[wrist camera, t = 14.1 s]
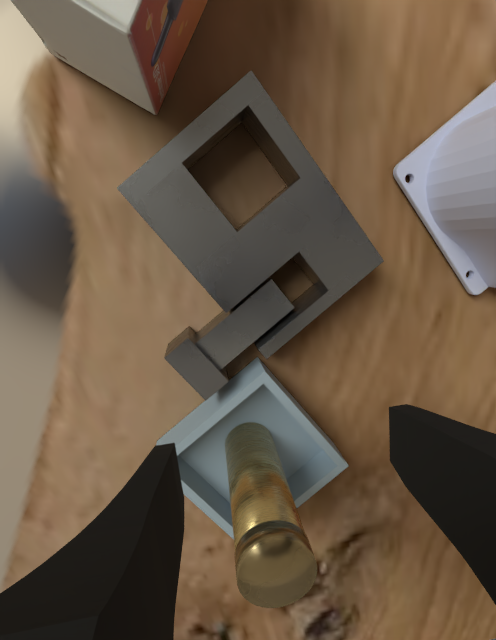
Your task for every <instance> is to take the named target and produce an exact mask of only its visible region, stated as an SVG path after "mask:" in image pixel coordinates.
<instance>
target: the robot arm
mask: <svg viewBox="0 0 496 640" xmlns="http://www.w3.org/2000/svg"><path fill="white" fill-rule="evenodd" d="M393 175H394V178H395V180H396V181H397V183H398V184H399V186H400V187H401V189H402V190H403V192H404V194H405V195H406V197H407V198H408V200H409V201H410V203H411V205H412V206H413V208H414V209H415V211H416V212H417V214H418V215H419V217H420V219H421V220H422V222H423V223H424V225H425V226H426V228H427V230H428V231H429V233H430V234H431V236H432V237H433V239H434V241H435V242H436V244H437V245H438V247H439V248H440V250H441V251H442V253H443V255H444V256H445V258H446V259H447V261H448V262H449V264H450V266H451V267H452V269H453V270H454V272H455V273H456V275H457V276H458V278H459V280H460V281H461V283H462V284H463V286H464V287H465V289H466V291H467V292H468V293H469V294H472V295H479V294H481V293H482V292H483V291H484V290H486V289H487V288H488V287H494V288H496V81H495V82H494V83H492V84H491V85H490V86H489V87H488V88H486V89H485V90H484V91H483V92H482V93H481V94H479V95H478V96H477V97H476V98H475V99H473V100H472V101H471V102H470V103H469V104H468V105H466V106H465V107H464V108H463V109H462V110H461V111H459V112H458V113H457V114H456V115H455V116H453V117H452V118H451V119H450V120H449V121H448V122H446V123H445V124H444V125H443V126H442V127H440V128H439V129H438V130H437V131H436V132H435V133H433V134H432V135H431V136H430V137H429V138H428V139H426V140H425V141H424V142H423V143H422V144H420V145H419V146H418V147H417V148H416V149H415V150H413V151H412V152H411V153H410V154H409V155H407V156H406V157H405V158H404V159H403V160H402V161H400V162H399V163H398V164H397V165H396V166H395V167H394V170H393ZM406 175H408V176H409V177H410V182H409V183H407V182H406V181H405V177H406ZM468 271H469V276H468V277H467V278H466V273H467V272H468ZM389 429H390V461H391V463H392V465H393V466H394V468H395V470H396V471H397V473H398V475H399V476H400V478H401V480H402V481H403V483H404V484H405V486H406V487H407V488H408V490H409V491H410V492H411V494H412V495H413V496H414V497H415V498H416V500H417V501H418V502H419V503H420V505H421V506H422V507H423V508H424V510H425V511H426V512H427V513H428V514H429V516H430V517H431V518H432V519H433V520H434V522H435V523H436V524H437V525H438V526H439V528H440V529H441V530H442V531H443V533H444V534H445V535H446V536H447V537H448V539H449V540H450V541H451V542H452V543H453V545H454V546H455V547H456V548H457V550H458V551H459V552H460V554H461V555H462V556H463V558H464V559H465V560H466V562H467V563H468V564H469V566H470V567H471V569H472V570H473V572H474V573H475V575H476V576H477V578H478V579H479V581H480V582H481V584H482V585H483V586H484V588H485V589H486V591H487V592H488V594H489V595H490V597H491V598H492V600H493V601H494V603H495V605H496V434H494V433H491V432H487V431H484V430H481V429H478V428H475V427H472V426H469V425H466V424H463V423H461V422H458V421H455V420H452V419H449V418H447V417H444V416H441V415H438V414H436V413H433V412H430V411H427V410H424V409H421V408H418V407H415V406H411V405H407V404H405V405H399V406H393V407H389ZM183 535H184V494H183V488H182V483H181V477H180V471H179V465H178V459H177V453H176V447H175V443H169V444H163V445H157V446H155V447H154V448H153V449H152V451H151V452H150V453H149V455H148V456H147V457H146V459H145V460H144V461H143V463H142V464H141V465H140V467H139V468H138V469H137V471H136V472H135V473H134V475H133V476H132V477H131V479H130V480H129V481H128V482H127V484H126V485H125V486H124V487H123V489H122V490H121V491H120V492H119V493H118V494H117V495H116V497H115V498H114V499H113V500H112V501H111V502H110V503H109V505H108V506H107V507H106V508H105V509H104V510H103V511H102V512H101V513H100V514H99V515H98V516H97V517H96V518H95V519H94V520H93V521H92V522H91V523H90V524H89V525H88V526H87V527H86V528H85V529H84V530H82V531H81V532H80V533H79V534H78V535H77V536H76V537H75V538H73V539H72V540H71V541H70V542H69V543H67V544H66V545H65V546H64V547H63V548H61V549H60V550H59V551H58V552H56V553H55V554H54V555H53V556H52V557H50V558H49V559H48V560H47V561H45V562H44V563H43V564H42V565H40V566H39V567H37V568H36V569H35V570H33V571H32V572H31V573H29V574H28V575H27V576H25V577H24V578H22V579H21V580H19V581H18V582H16V583H15V584H14V585H12V586H11V587H9V588H8V589H6V590H5V591H3V592H2V593H0V640H173V633H174V615H175V603H176V595H177V586H178V578H179V569H180V561H181V552H182V544H183ZM492 640H496V639H492Z"/></svg>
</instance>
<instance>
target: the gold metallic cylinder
mask: <svg viewBox="0 0 496 640" xmlns="http://www.w3.org/2000/svg"><path fill="white" fill-rule="evenodd" d="M225 453H226V463H227V473H228V483H229V493H230V504H231V514H232V524H233V534H234V544H235V567H236V577H237V585H238V589H239V591H240V593H241V594H242V596H243V597H244V598H245V599H246V600H248V601H249V602H250V603H252V604H254V605H257V606H260V607H265V608H278V607H283V606H286V605H289V604H292V603H294V602H295V601H297V600H299V599H300V598H302V597H303V596H304V595H305V594H306V593H307V592H308V591H309V590H310V588H311V587H312V585H313V584H314V581H315V579H316V575H317V564H316V560H315V557H314V554H313V552H312V549H311V546H310V543H309V540H308V537H307V536H306V534H305V532H304V529H303V526H302V523H301V520H300V517H299V514H298V511H297V508H296V506H295V503H294V500H293V497H292V494H291V491H290V488H289V485H288V482H287V479H286V476H285V473H284V470H283V467H282V464H281V461H280V458H279V456H278V453H277V450H276V447H275V444H274V441H273V438H272V435H271V433H270V431H269V430H268V429H267V428H266V427H265V426H263V425H261V424H259V423H255V422H247V423H242V424H240V425H238V426H236V427H235V428H233V429H232V430H231V431H230V432H229V434H228V435H227V437H226V440H225Z"/></svg>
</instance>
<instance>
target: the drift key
mask: <svg viewBox="0 0 496 640" xmlns="http://www.w3.org/2000/svg"><path fill="white" fill-rule="evenodd" d="M293 308H294V306H293V305H292V304H291V303H290V301H289V300H288V299H287V298H286V296H285V295H284V294H283V293H282V292H281V290H280V289H279V288H278V287H277V285H276V284H275V283H274V282H273V280H272V279H270V278H267V279H266V280H265V281H264V282H262V283H261V284H260V285H259V286H258V287H257V288H255V289H254V290H253V291H252V292H251V293H249V294H248V295H247V296H246V297H245V298H244V299H242V300H241V301H240V302H239V303H238V304H236V305H235V306H234V307H233V308H232V309H231V310H229V311H228V312H227V313H226V312H225V311H222V312H221V313H220V314H219V315H218V316H216V317H215V318H214V319H213V320H212V321H211V322H209V323H208V324H207V325H206V326H205V327H203V328H202V329H201V330H200V331H199V332H198V333H195V332H194V331H193V330H192V329H191V328H190V327H188V328H186V329H185V330H184V331H183V332H182V333H181V334H179V335H178V336H177V337H176V338H175V339H174V340H172V341H171V342H170V343H169V344H168V347H167V350H166V354H165V357H164V358H165V359H166V360H167V361H168V363H169V364H170V365H171V366H172V367H173V368H174V369H175V370H176V371H177V372H178V373H179V374H180V375H181V376H182V377H183V378H184V379H185V380H186V381H187V382H188V383H189V384H190V385H191V386H192V387H193V388H194V389H195V390H196V391H197V392H198V393H199V394H200V395H201V396H202V397H203V398H204V400H205V401H206V400H207V399H209V398H210V397H211V396H212V395H213V394H215V393H216V392H217V391H218V390H219V389H221V388H222V387H223V386H224V385H225V384H227V383H228V382H229V380H228V376H227V371H226V367H225V366H226V365H227V364H228V363H229V362H230V361H232V360H233V359H234V358H235V357H236V356H238V355H239V354H240V353H241V352H242V351H244V350H245V349H246V348H247V347H248V346H250V345H251V344H252V343H253V342H254V341H255V340H257V339H258V338H259V337H260V336H261V335H263V334H264V333H265V332H266V331H267V330H269V329H270V328H271V327H272V326H273V325H274V324H276V323H277V322H278V321H279V320H280V319H282V318H283V317H284V316H285V315H286V314H288V313H289V312H290V311H291V310H292V309H293Z"/></svg>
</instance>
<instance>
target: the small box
mask: <svg viewBox="0 0 496 640" xmlns="http://www.w3.org/2000/svg"><path fill="white" fill-rule="evenodd" d="M11 1H12V3H13V4H14V5H15V6H16V7H17V9H18V10H19V11H20V12H21V14H22V15H23V16H24V18H25V19H26V20H27V22H28V23H29V24H30V25H31V26H32V28H33V29H34V30H35V32H36V33H37V34H38V36H39V37H40V38H41V40H42V42H43V43H44V45H45V46H46V48H47V49H48V50H49V52H50V53H51V54H53V55H54V56H56V57H58V58H59V59H61V60H63V61H64V62H66V63H67V64H69V65H71V66H73V67H74V68H76V69H78V70H79V71H81V72H83V73H84V74H86V75H88V76H89V77H91V78H93V79H95V80H96V81H98V82H100V83H101V84H103V85H105V86H107V87H108V88H110V89H112V90H113V91H115V92H117V93H118V94H120V95H122V96H123V97H125V98H127V99H128V100H130V101H132V102H133V103H135V104H137V105H138V106H140V107H142V108H144V109H146V110H147V111H149V112H151V113H153V114H154V115H157V114H158V112H159V110H160V107H161V105H162V103H163V100H164V98H165V96H166V94H167V91H168V89H169V87H170V85H171V82H172V80H173V78H174V75H175V73H176V71H177V69H178V67H179V64H180V62H181V60H182V58H183V55H184V53H185V51H186V49H187V46H188V44H189V42H190V40H191V37H192V35H193V33H194V31H195V29H196V26H197V24H198V22H199V20H200V17H201V15H202V13H203V11H204V8H205V6H206V4H207V2H208V0H11Z"/></svg>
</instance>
